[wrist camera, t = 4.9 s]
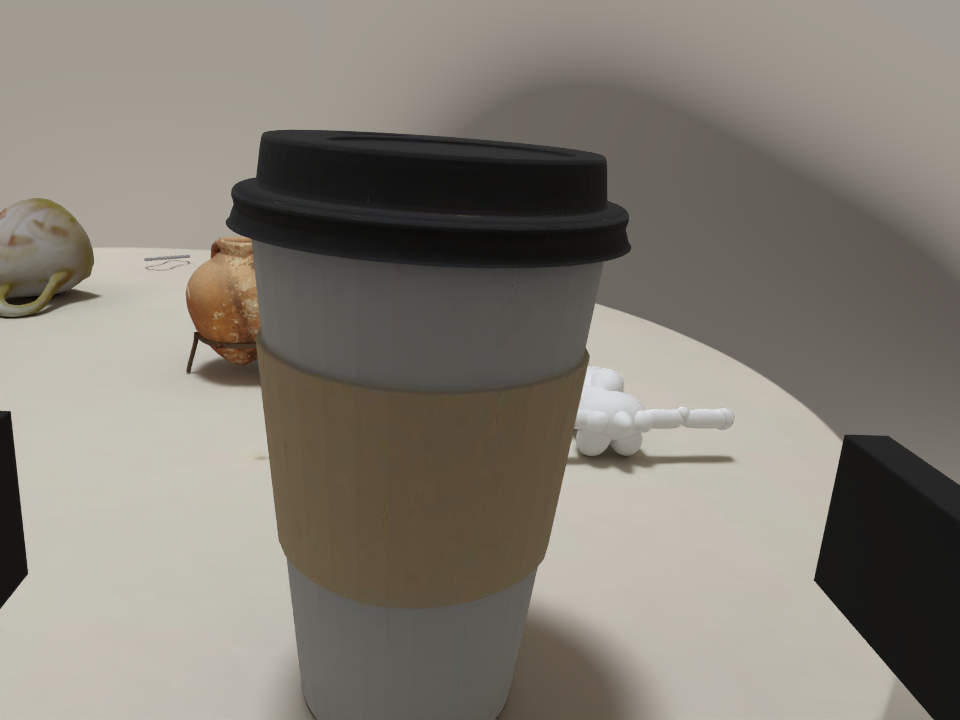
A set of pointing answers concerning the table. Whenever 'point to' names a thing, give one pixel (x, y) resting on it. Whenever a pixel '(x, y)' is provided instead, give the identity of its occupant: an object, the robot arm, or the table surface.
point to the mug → (40, 254)
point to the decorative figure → (629, 416)
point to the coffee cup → (419, 398)
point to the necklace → (167, 257)
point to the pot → (226, 302)
